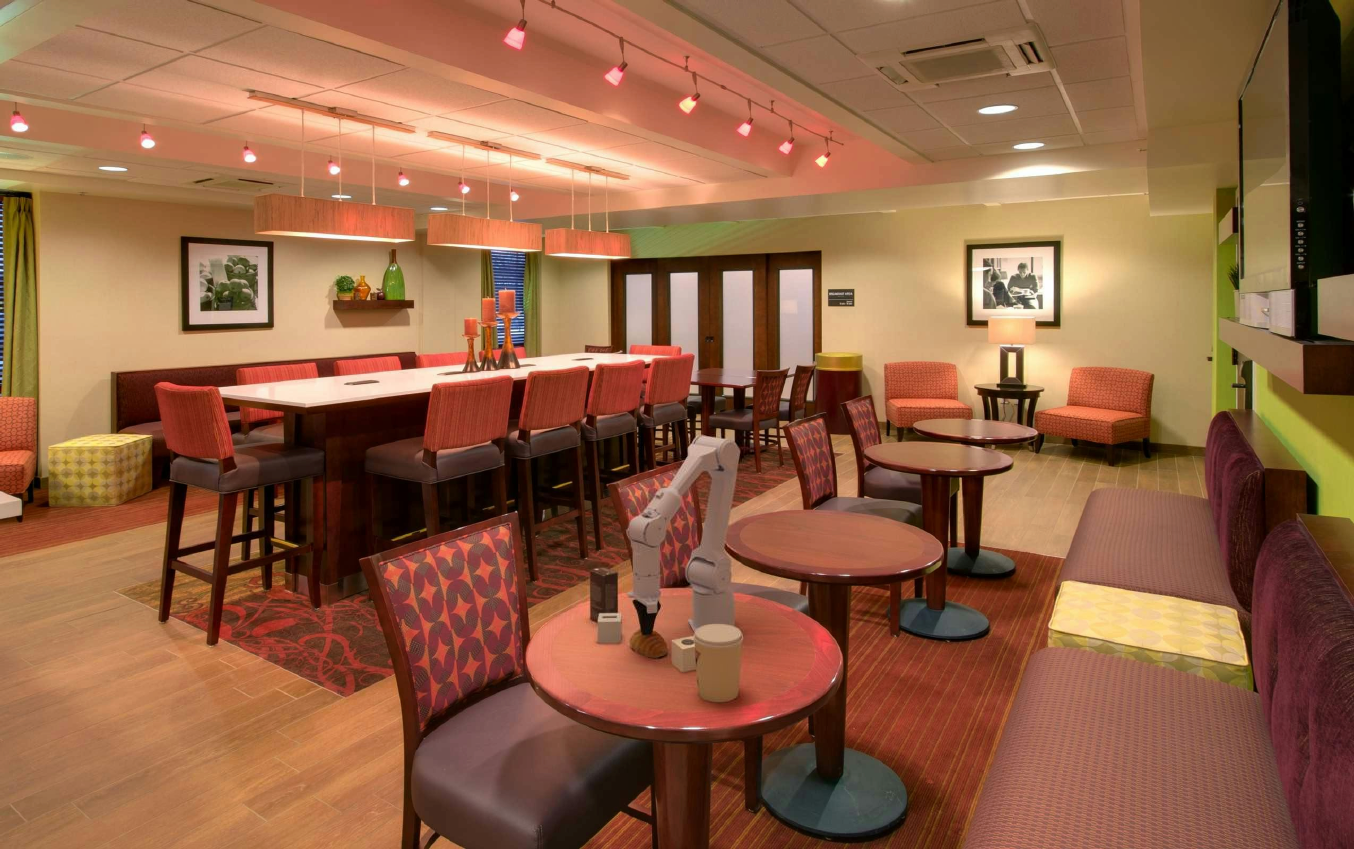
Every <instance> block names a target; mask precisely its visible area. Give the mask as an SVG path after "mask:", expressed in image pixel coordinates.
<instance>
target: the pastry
mask: <svg viewBox="0 0 1354 849" xmlns="http://www.w3.org/2000/svg"><path fill="white" fill-rule="evenodd" d="M629 643H630V647H631V648H632V649H633V650H634V652H635V653H638V654H640V655H642V656H645V657H647V658H653V659H657V658H659V657H663V656H666V655H667V653H668V651H669V648H668V646H667V645H668V644H667V642H666V641H665V638H664V637H663V636H662V635H661V634H660V633H658V632H657V631H656V630H653V632H652V634H651V635H642V632H641V629H640V628H639V629H637V631H634V633H633V634H632V635H631V637H630V639H629Z"/></svg>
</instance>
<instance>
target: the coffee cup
mask: <svg viewBox="0 0 1354 849" xmlns="http://www.w3.org/2000/svg"><path fill="white" fill-rule="evenodd" d="M693 636H694V643H695V660H696V670H695V672H696V687H697V694H698V696H699V697H700V698H701V699H703V700H705V701H708V702H712V703H727V702H730V701H733V700H734V699H736V698H737V697H738V695H739V690H740V689H739V688H740V676H741V665H742V651H743V641H744V635H743V633H742V631H741V630H740V628H738V627H736V626H735V627H734V626H731V625H726V624H709V625H704V626H701V627H699V628H698V629H697V630H696V631H695V633H694V632H693Z"/></svg>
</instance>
